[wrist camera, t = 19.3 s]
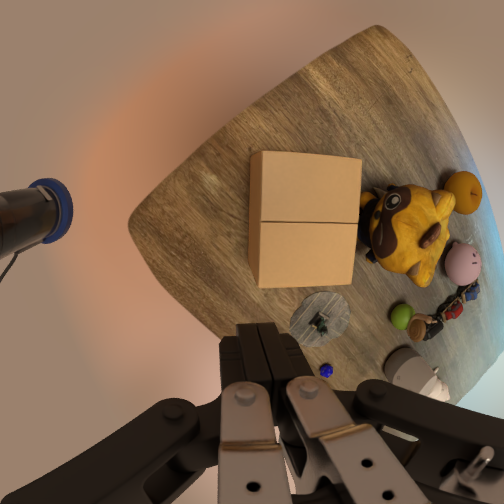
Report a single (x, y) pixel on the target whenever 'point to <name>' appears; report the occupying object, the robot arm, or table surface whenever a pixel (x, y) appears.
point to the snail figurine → (410, 321)
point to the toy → (462, 264)
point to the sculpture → (320, 319)
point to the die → (326, 370)
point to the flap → (306, 254)
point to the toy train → (452, 308)
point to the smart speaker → (410, 371)
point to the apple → (464, 192)
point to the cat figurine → (439, 390)
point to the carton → (300, 192)
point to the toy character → (406, 229)
